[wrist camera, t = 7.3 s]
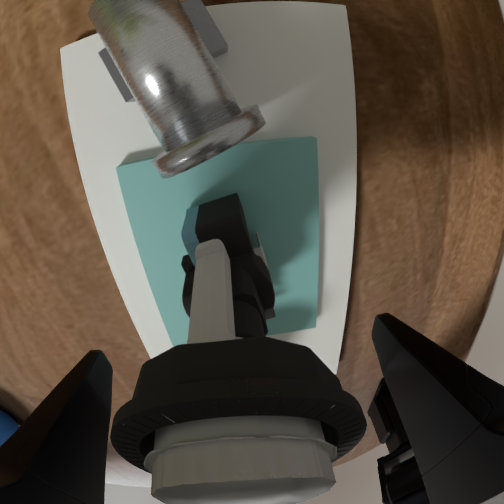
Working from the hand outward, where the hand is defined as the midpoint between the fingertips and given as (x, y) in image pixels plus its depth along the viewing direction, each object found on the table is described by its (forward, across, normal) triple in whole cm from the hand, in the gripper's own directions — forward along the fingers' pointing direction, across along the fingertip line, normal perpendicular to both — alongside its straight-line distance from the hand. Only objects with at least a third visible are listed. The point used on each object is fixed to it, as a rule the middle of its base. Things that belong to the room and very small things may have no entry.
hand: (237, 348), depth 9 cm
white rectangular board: (+6, 0, 0) cm, 6 cm away
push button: (+5, 0, 0) cm, 5 cm away
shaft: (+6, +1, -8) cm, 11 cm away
